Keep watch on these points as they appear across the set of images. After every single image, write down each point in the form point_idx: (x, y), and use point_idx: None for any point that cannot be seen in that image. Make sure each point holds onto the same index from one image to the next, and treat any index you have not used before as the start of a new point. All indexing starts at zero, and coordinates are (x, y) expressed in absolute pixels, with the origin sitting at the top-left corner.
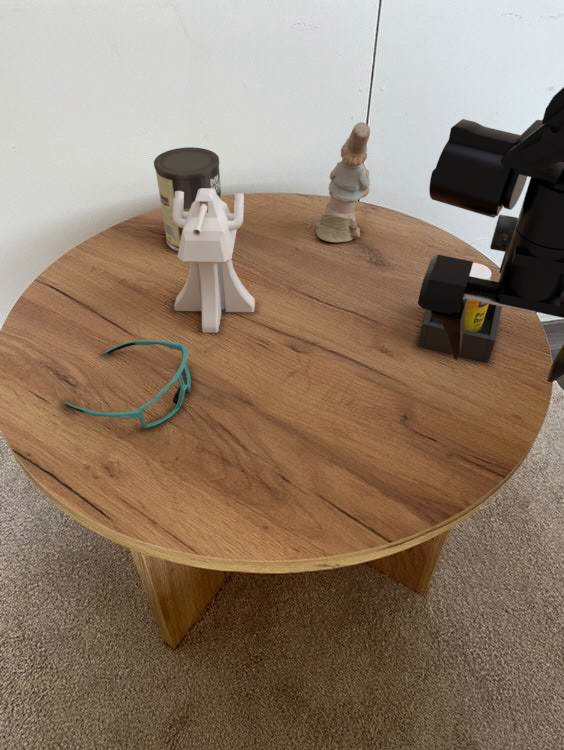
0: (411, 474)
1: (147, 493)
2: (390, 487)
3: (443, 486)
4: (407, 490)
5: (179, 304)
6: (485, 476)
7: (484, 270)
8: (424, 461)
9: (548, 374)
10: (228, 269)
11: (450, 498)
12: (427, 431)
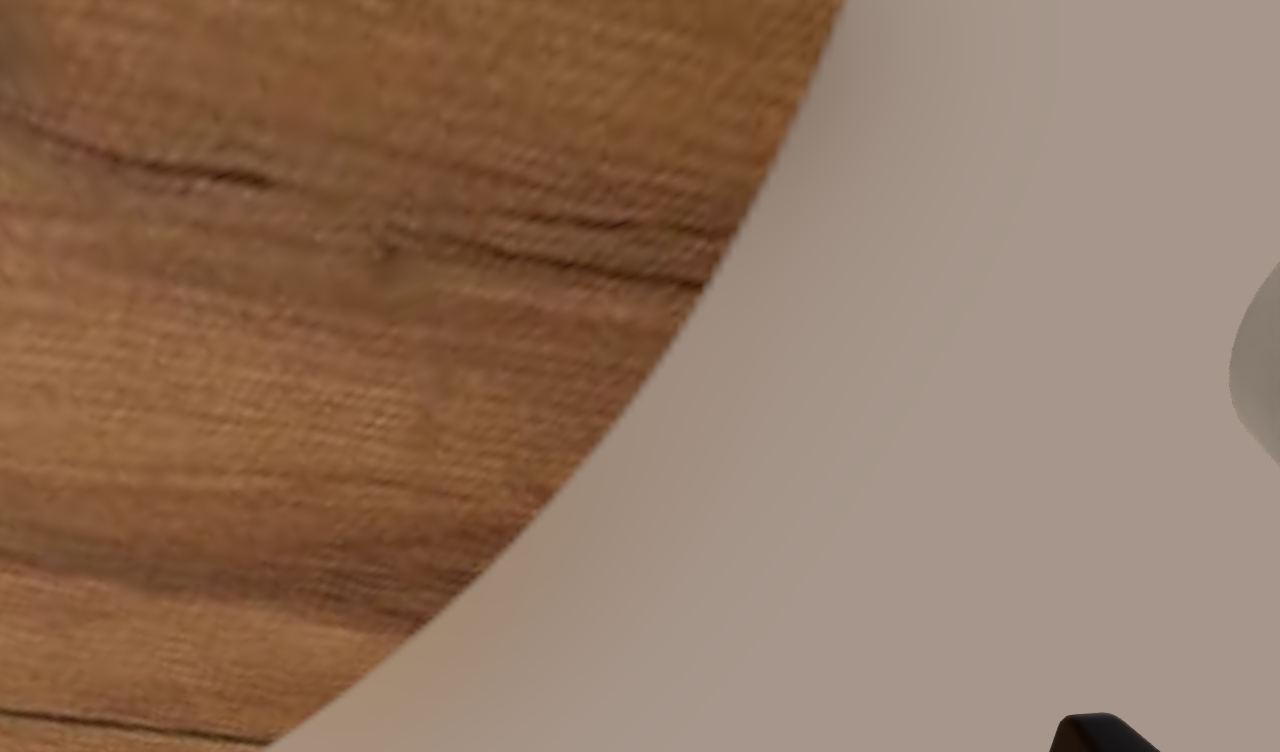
0: (230, 452)
1: None
2: (166, 552)
3: (414, 456)
4: (252, 537)
5: None
6: (616, 323)
7: None
8: (262, 352)
9: (1072, 745)
10: None
11: (467, 502)
12: (183, 122)
